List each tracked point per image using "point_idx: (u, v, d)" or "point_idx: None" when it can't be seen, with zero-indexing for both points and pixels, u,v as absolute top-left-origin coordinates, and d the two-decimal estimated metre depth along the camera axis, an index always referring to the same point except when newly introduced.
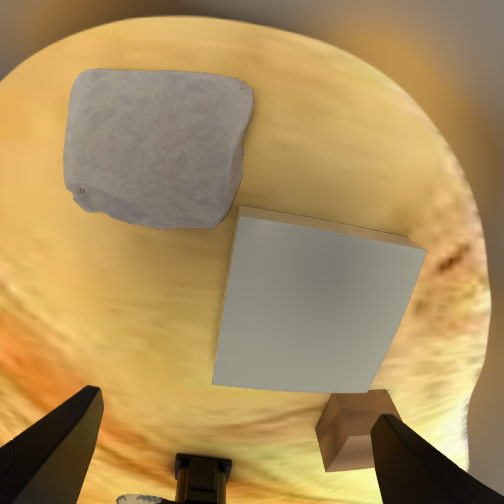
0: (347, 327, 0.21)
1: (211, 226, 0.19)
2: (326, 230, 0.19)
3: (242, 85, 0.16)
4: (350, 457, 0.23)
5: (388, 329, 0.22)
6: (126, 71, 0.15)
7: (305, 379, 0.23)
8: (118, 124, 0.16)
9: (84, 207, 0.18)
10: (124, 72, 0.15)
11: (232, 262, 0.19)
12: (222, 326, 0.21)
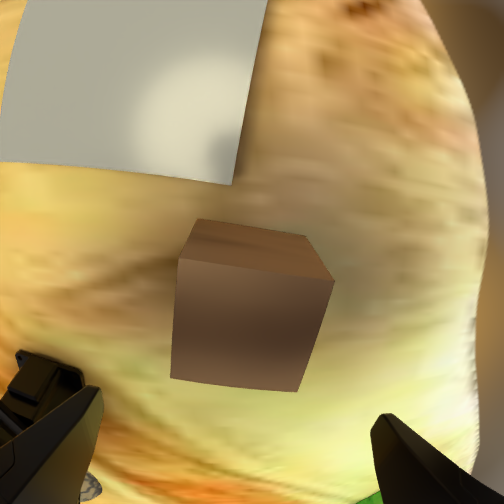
0: (160, 33, 0.11)
1: None
2: None
3: None
4: (208, 341, 0.13)
5: (239, 38, 0.11)
6: None
7: (105, 138, 0.13)
8: None
9: None
10: None
11: None
12: (10, 62, 0.11)
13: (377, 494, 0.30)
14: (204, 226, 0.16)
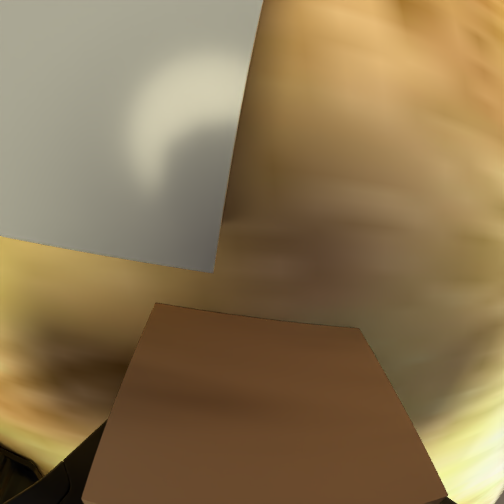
0: None
1: None
2: None
3: None
4: None
5: None
6: None
7: None
8: None
9: None
10: None
11: None
12: None
13: None
14: (163, 334, 0.07)
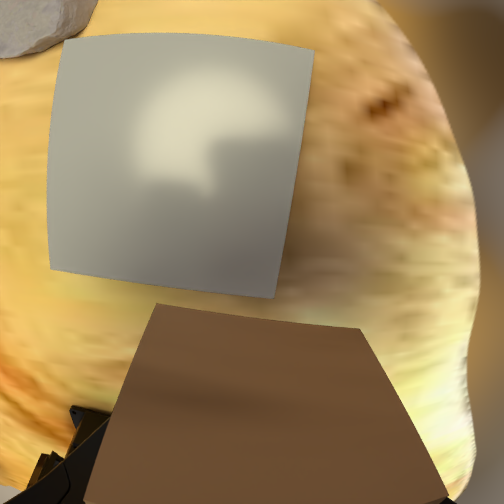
0: (205, 165, 0.15)
1: (53, 31, 0.12)
2: (156, 33, 0.12)
3: None
4: None
5: (279, 173, 0.15)
6: None
7: (162, 261, 0.16)
8: None
9: None
10: None
11: (55, 89, 0.13)
12: (48, 175, 0.14)
13: None
14: (165, 335, 0.07)
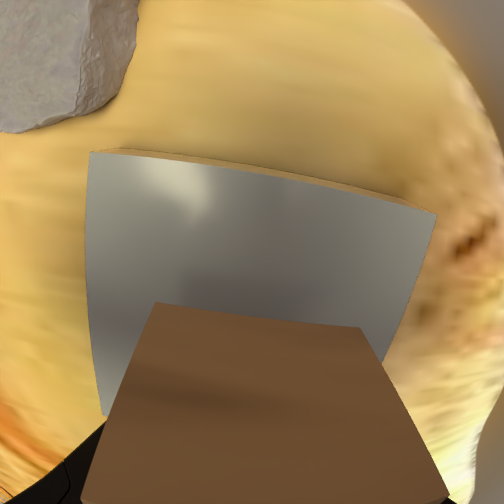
0: None
1: (70, 109, 0.10)
2: (241, 170, 0.10)
3: None
4: None
5: None
6: None
7: None
8: None
9: None
10: None
11: (86, 232, 0.11)
12: (92, 335, 0.12)
13: None
14: (163, 333, 0.07)
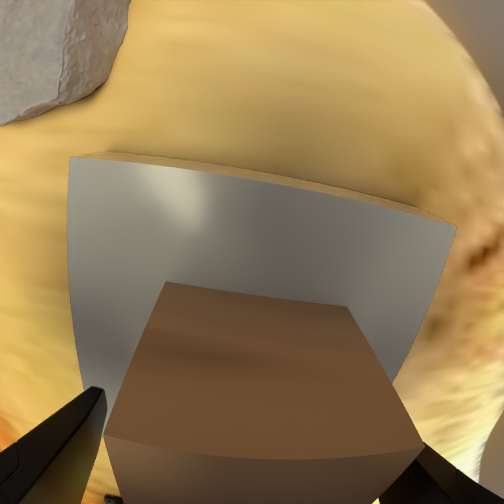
0: None
1: (52, 97, 0.08)
2: (241, 177, 0.09)
3: None
4: None
5: None
6: None
7: None
8: None
9: None
10: None
11: (69, 246, 0.09)
12: (80, 357, 0.11)
13: None
14: (173, 306, 0.09)
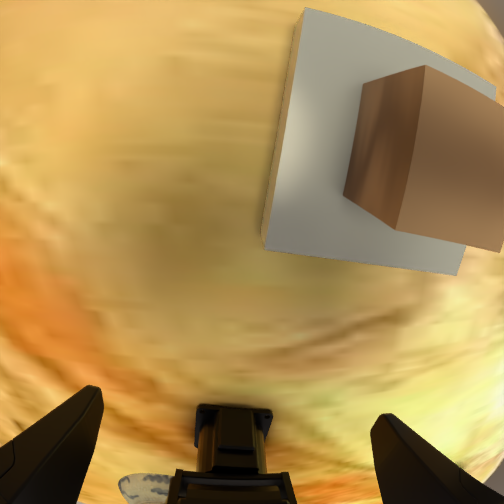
0: None
1: None
2: (398, 37, 0.13)
3: None
4: (444, 170, 0.09)
5: None
6: None
7: (390, 242, 0.17)
8: None
9: None
10: None
11: (298, 55, 0.13)
12: (284, 144, 0.15)
13: None
14: None
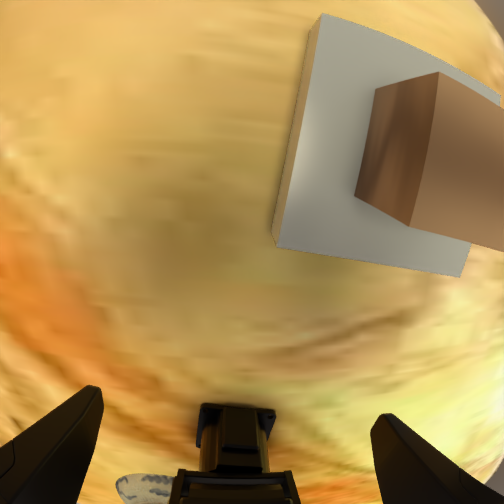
0: None
1: None
2: (410, 45, 0.13)
3: None
4: (455, 171, 0.10)
5: None
6: None
7: (397, 243, 0.17)
8: None
9: None
10: None
11: (315, 59, 0.14)
12: (300, 145, 0.15)
13: None
14: None
